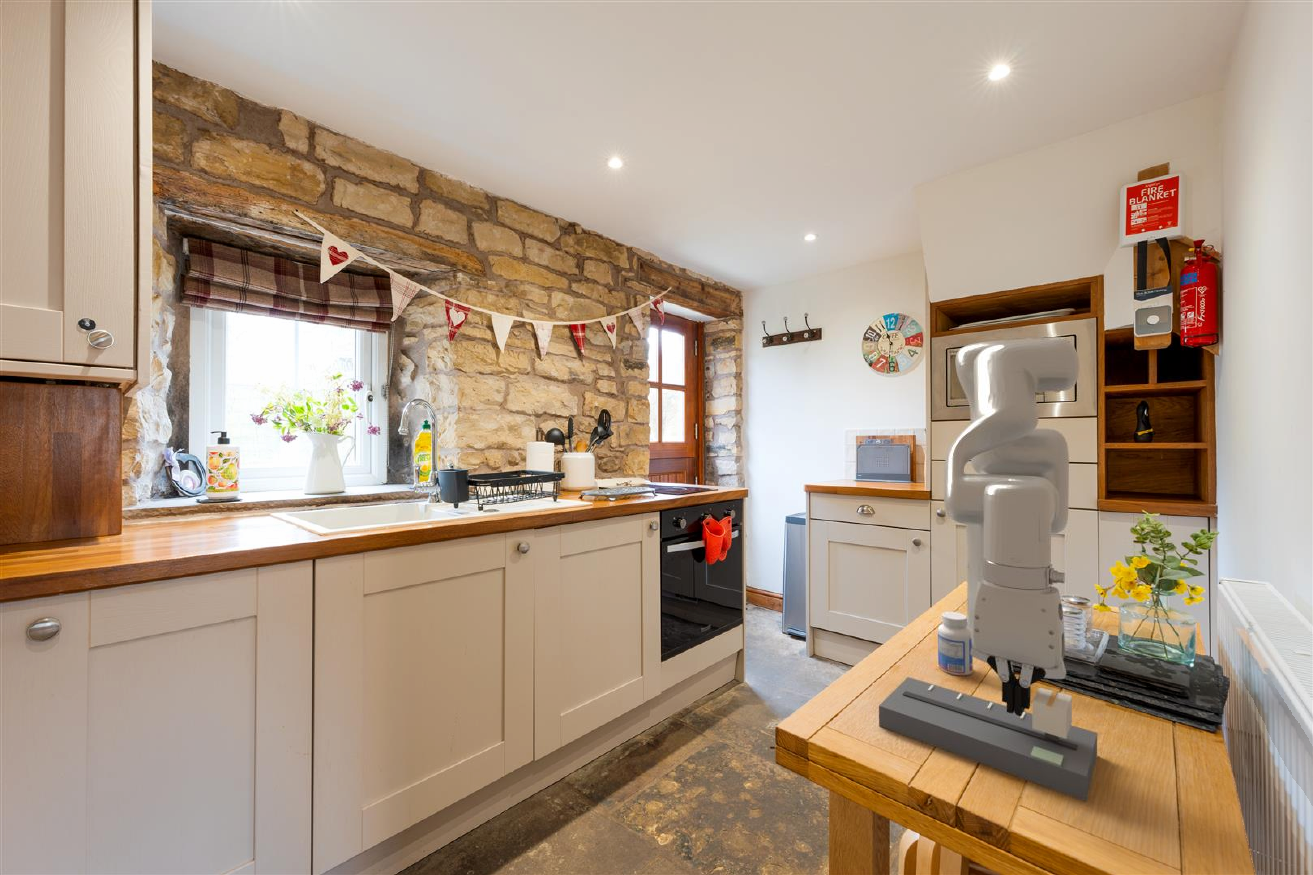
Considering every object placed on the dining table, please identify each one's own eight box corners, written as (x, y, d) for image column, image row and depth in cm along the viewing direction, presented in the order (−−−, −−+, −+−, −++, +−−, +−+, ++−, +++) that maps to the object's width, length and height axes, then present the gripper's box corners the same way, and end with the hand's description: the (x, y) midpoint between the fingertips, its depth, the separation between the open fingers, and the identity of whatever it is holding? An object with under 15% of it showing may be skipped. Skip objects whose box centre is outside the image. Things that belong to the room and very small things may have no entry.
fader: (1039, 723, 74) (1039, 686, 74) (1071, 733, 71) (1071, 695, 71) (1032, 739, 70) (1032, 700, 70) (1066, 750, 68) (1066, 710, 68)
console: (907, 695, 89) (907, 675, 89) (1097, 755, 72) (1097, 731, 72) (878, 725, 80) (878, 704, 80) (1086, 801, 64) (1086, 774, 64)
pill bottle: (954, 660, 101) (954, 608, 101) (979, 673, 96) (979, 618, 96) (930, 665, 99) (930, 612, 99) (955, 678, 94) (955, 622, 94)
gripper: (1090, 578, 70) (1090, 719, 71) (961, 560, 81) (962, 682, 81) (1083, 592, 65) (1083, 744, 65) (946, 570, 75) (946, 702, 76)
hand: (1016, 710), depth 73 cm, fingers closed
